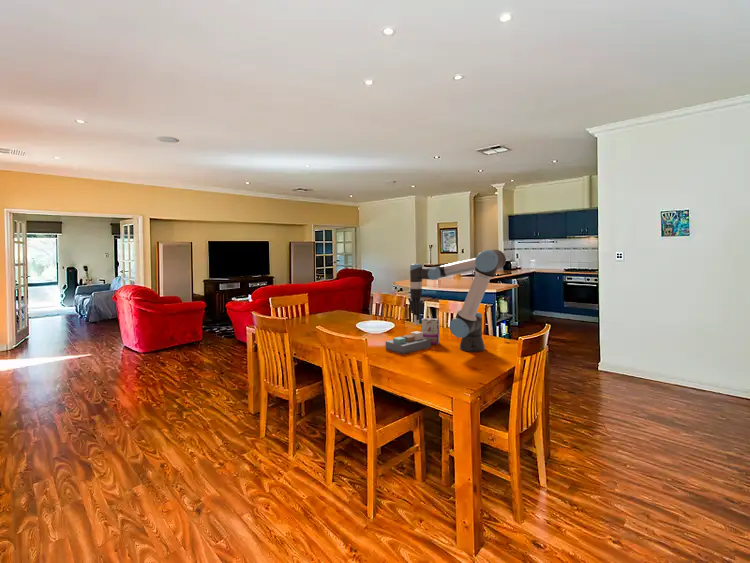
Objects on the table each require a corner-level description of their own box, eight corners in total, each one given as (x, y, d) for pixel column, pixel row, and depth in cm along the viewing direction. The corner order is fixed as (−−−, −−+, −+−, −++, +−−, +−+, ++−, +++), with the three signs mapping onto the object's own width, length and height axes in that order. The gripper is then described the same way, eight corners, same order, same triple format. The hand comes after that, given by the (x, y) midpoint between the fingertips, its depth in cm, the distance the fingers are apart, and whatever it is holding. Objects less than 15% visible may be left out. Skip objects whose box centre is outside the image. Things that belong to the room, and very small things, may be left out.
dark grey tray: (430, 347, 257) (430, 339, 256) (402, 354, 242) (402, 346, 241) (413, 342, 269) (413, 335, 269) (385, 349, 254) (385, 341, 254)
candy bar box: (439, 342, 267) (439, 318, 265) (438, 344, 262) (437, 319, 261) (423, 341, 271) (422, 317, 269) (421, 343, 266) (421, 319, 264)
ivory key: (422, 339, 259) (422, 332, 259) (416, 340, 256) (416, 333, 255) (416, 337, 264) (416, 331, 263) (410, 339, 260) (410, 332, 260)
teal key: (405, 345, 250) (405, 338, 250) (399, 346, 247) (399, 339, 246) (399, 343, 254) (399, 336, 254) (393, 345, 251) (393, 338, 251)
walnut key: (414, 343, 255) (414, 336, 254) (408, 344, 251) (408, 337, 251) (408, 341, 259) (408, 334, 259) (402, 343, 256) (402, 336, 255)
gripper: (427, 288, 254) (428, 325, 256) (413, 286, 264) (413, 322, 266) (419, 289, 249) (419, 327, 251) (404, 287, 259) (405, 324, 261)
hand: (416, 324), depth 259 cm, fingers closed
